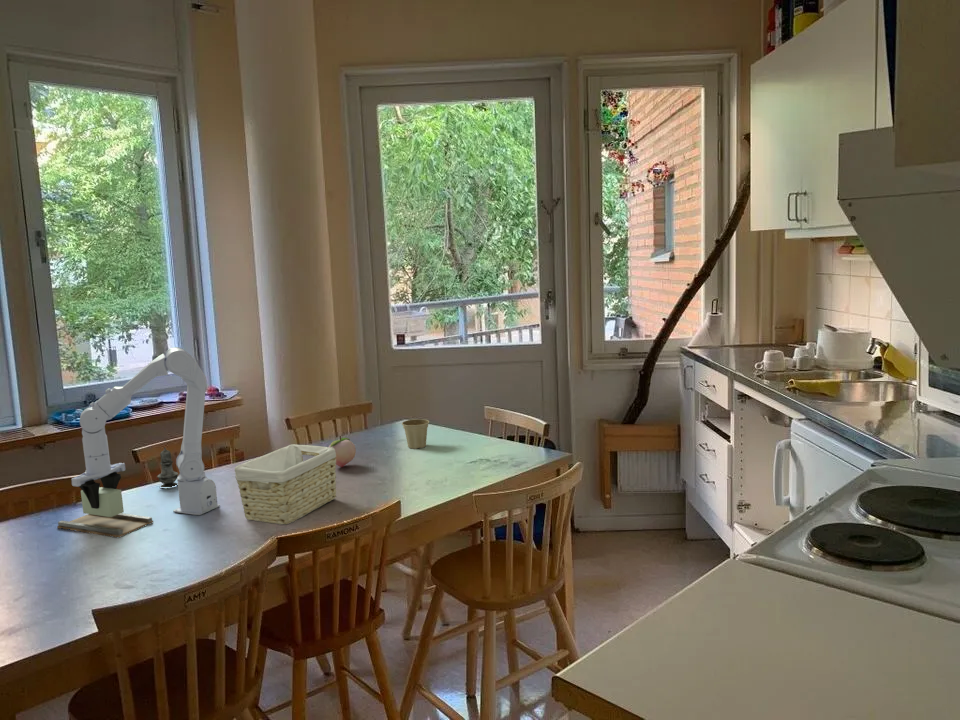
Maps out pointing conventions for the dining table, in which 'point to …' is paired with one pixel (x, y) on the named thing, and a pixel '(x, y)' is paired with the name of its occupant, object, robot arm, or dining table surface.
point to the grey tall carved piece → (167, 470)
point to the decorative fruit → (343, 451)
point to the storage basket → (287, 483)
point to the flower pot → (416, 432)
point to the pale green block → (105, 503)
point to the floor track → (107, 524)
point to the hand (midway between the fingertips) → (102, 505)
